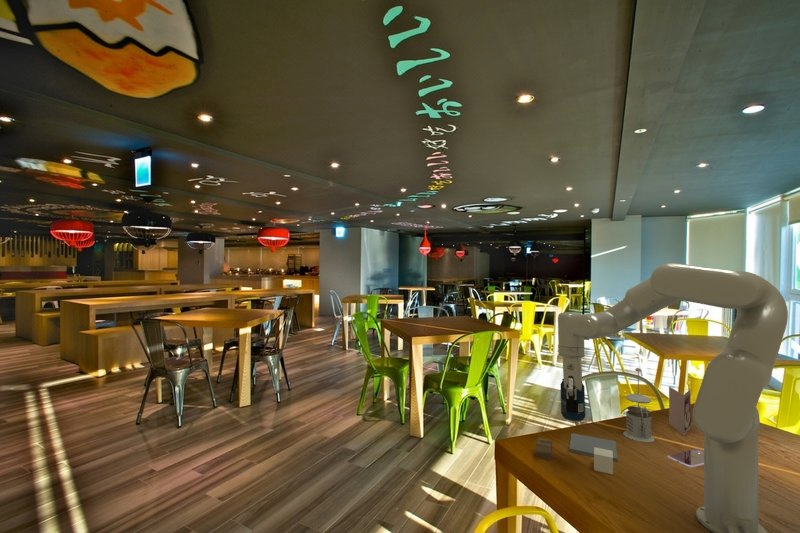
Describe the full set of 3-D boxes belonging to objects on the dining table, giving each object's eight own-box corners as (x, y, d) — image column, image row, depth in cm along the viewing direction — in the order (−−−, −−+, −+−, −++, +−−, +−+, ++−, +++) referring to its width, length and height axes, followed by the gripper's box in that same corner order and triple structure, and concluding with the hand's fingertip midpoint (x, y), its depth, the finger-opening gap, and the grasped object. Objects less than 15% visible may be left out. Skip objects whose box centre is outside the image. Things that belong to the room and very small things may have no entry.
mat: (617, 461, 118) (617, 458, 118) (569, 451, 125) (568, 448, 125) (615, 444, 130) (615, 441, 130) (571, 435, 137) (571, 433, 137)
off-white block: (613, 474, 110) (613, 457, 110) (594, 470, 113) (594, 453, 113) (612, 467, 115) (612, 450, 115) (594, 463, 117) (594, 447, 117)
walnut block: (550, 460, 119) (550, 446, 119) (535, 457, 121) (535, 443, 121) (552, 454, 123) (552, 440, 123) (537, 451, 125) (537, 437, 125)
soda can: (556, 416, 120) (555, 378, 121) (574, 413, 122) (573, 376, 123) (572, 423, 114) (571, 383, 114) (590, 421, 116) (589, 381, 116)
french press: (648, 432, 141) (648, 365, 141) (661, 446, 130) (660, 373, 130) (619, 429, 143) (619, 363, 144) (629, 442, 132) (629, 371, 133)
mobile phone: (665, 454, 122) (696, 447, 127) (665, 457, 122) (696, 450, 127) (690, 465, 115) (722, 458, 120) (690, 469, 115) (722, 461, 120)
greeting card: (686, 436, 137) (686, 395, 138) (662, 430, 143) (662, 390, 143) (693, 428, 145) (693, 389, 145) (670, 422, 151) (670, 385, 151)
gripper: (583, 357, 109) (585, 419, 108) (585, 348, 125) (586, 402, 124) (555, 355, 113) (557, 415, 112) (560, 346, 128) (562, 399, 127)
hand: (572, 408), depth 118 cm, fingers closed on soda can, 6 cm apart
